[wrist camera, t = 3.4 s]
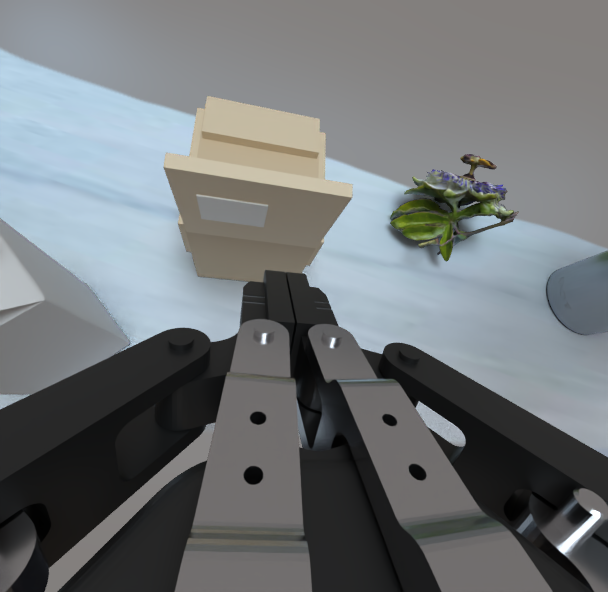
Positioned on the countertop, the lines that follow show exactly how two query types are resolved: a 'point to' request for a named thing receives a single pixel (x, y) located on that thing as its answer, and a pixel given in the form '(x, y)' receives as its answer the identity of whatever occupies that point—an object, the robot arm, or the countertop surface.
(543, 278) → the countertop surface
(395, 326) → the countertop surface
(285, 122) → the carton
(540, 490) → the robot arm
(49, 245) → the countertop surface
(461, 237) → the passion flower
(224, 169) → the flap
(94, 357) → the milk carton
